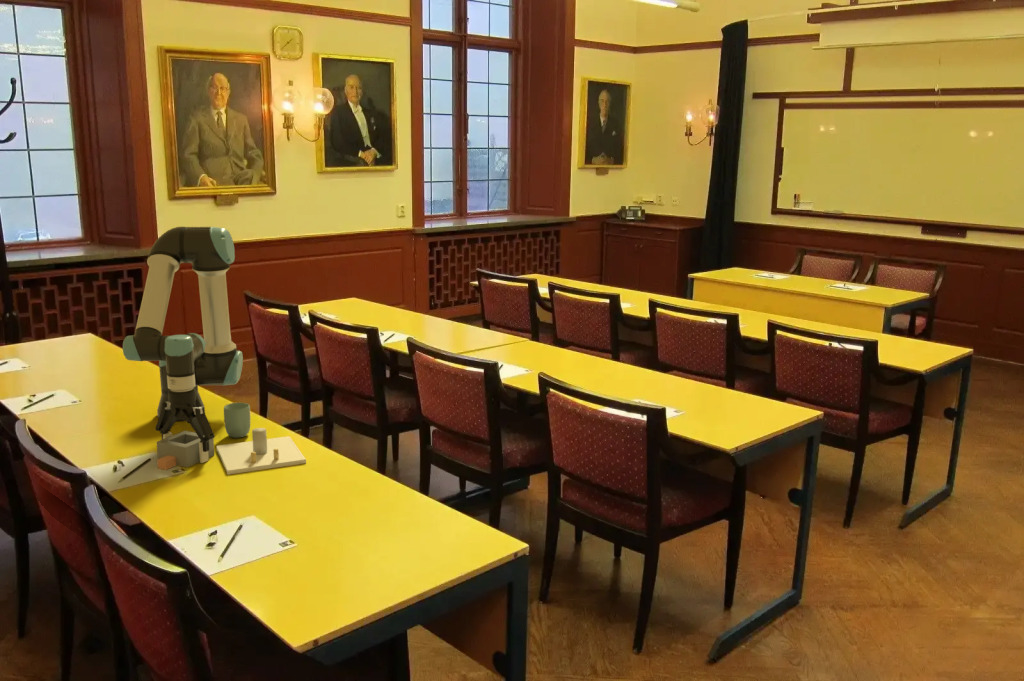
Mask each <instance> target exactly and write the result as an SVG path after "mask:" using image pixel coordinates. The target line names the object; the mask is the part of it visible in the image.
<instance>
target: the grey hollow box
mask: <svg viewBox="0 0 1024 681" xmlns="http://www.w3.org/2000/svg"><path fill="white" fill-rule="evenodd" d="M204 437H205V436H204ZM199 441H201V440H200V438H199V437H198V435H197V434H196V432H195V431H188V430H183V431H180V432H179V433H176V434H172V436H170V437H167V438H165V439H162V438H161V439H160V440H158V441H156V449H157V450H156V451H157V452H156V453H157V460H156V462H157V469H159V470H166V471H167V470H168V469H171V468H173V467H175V466H179V467H184V468H189V467H191V466H193V465H196V464H198V463H200V454H199ZM214 445H215V443H214V438H213V439H210V440H209V451H208V456H209V458H212V457H214V456H215V446H214Z"/></svg>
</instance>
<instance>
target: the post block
mask: <svg viewBox="0 0 1024 681" xmlns="http://www.w3.org/2000/svg"><path fill="white" fill-rule="evenodd" d="M251 431H252V432H251V433H252V436H251V438H252V440H251V441H243V442H235V443H234V442H233V443H228V444H219V445H216V452H217V453H218V455H219V458H220V461H221V462H222V465H223V467H224V469H225V472H226V474H227V475H229V476H230V475H235V474H241V473H248V472H255V471H261V470H267V469H276V468H281V467H289V466H296V465H301V464H302V465H303V464H307V459H306V457H305V456H304V454H303V453H302V452H301V450H300V449H299V448H298V446H297V445H296V443H295V442H294V440H293V439H292V438H291V436H290V435H289V436H288V435H287V436H280V437H273V438H267V428H264V427H257V428H253V429H252V430H251Z"/></svg>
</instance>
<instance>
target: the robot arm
mask: <svg viewBox="0 0 1024 681" xmlns="http://www.w3.org/2000/svg"><path fill="white" fill-rule="evenodd" d="M235 258H236V255H235V245H234V241H233V237H232V235H231V233H230V231H229V230H228V229H226V228H224V227H217V226H216V227H215V226H176V227H173V228H171V229H170V228H169V229H167V231H165V232H163V233H162V234H161V235H160V236H159V237H158V238H157V239H156V240H155V241H154V243H153V245H152V246H151V248H150V250H149V252H148V255H147V261H146V262H147V266H148V272H147V276H146V281H145V286H144V289H143V295H142V300H141V303H140V307H139V313H138V315H137V316H138V317H137V322H136V326H135V330H134V334H133V335H132V334H131V335H127V336H125V337H124V339H123V342H122V353H123V356H124V357H125V360H127V361H131V362H133V361H134V362H143V361H144V362H151V361H152V362H153V361H158V368H159V377H160V378H159V379H160V389H161V390H160V391H161V395H160V399H159V402H158V406H157V410H156V411H157V412H156V414H157V418H158V420H157V423H156V426H155V428H154V429H155V431H156V432H160V434H161V440H162V439H165V438H167V437H170V436H173V432H172V431H171V429H172V428H173V426H174V425H175V423H176V422H178V421H183V422H187V424H189V425H190V426H191V428H192V429H193V432H194V433H196V434H197V435H198V437H199V438H200V440H201V441H199V454H200V462H199V463H200V464H203V463H206V462H208V461H209V459H210V457H209V456H208V451H209V440H210V439H213V440H214V439H215V438H216V435H215V433H214V431H213V429H212V426H211V424H210V422H209V420H208V418H207V414H206V410H205V404H204V402H203V400H202V397H201V395H200V392H199V387H198V386H223V387H224V386H231V385H232V386H233V385H236V384H237V383H238V382H239V380H240V378H241V375H242V370H243V366H244V365H243V362H244V357H243V352H242V351H240V350H238V349H237V344H236V343H234V342H233V340H232V335H231V324H230V313H229V299H228V286H227V284H228V283H227V275H226V274H227V272H228V271H229V270H230V268H231V264H233V263H234V262H235V260H236V259H235ZM181 264H191V266H192V268H191V269H192V271H193V272H194V273H196V274H197V278H198V289H199V291H198V292H199V300H200V311H201V320H202V321H201V322H202V332H203V337H202V335H201V334H198V333H196V332H189V333H187V334H173V335H163V332H164V326H165V321H166V317H167V313H168V312H167V311H168V306H169V301H170V296H171V293H172V287H173V282H174V278H175V273H176V272H177V271H179V269H180V265H181ZM204 436H205V437H204Z"/></svg>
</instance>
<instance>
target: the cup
mask: <svg viewBox="0 0 1024 681" xmlns="http://www.w3.org/2000/svg"><path fill="white" fill-rule="evenodd" d="M251 419H252V418H251V406H250V404H249V403H247V402H232V403H228V404H225V405H224V407H223V420H224V428H225V432H226V434H227V435H228V436H229V437H230V438H235V439H240V438H244V437H246V436H247V435H248V434H249V433H250V430H251Z"/></svg>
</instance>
